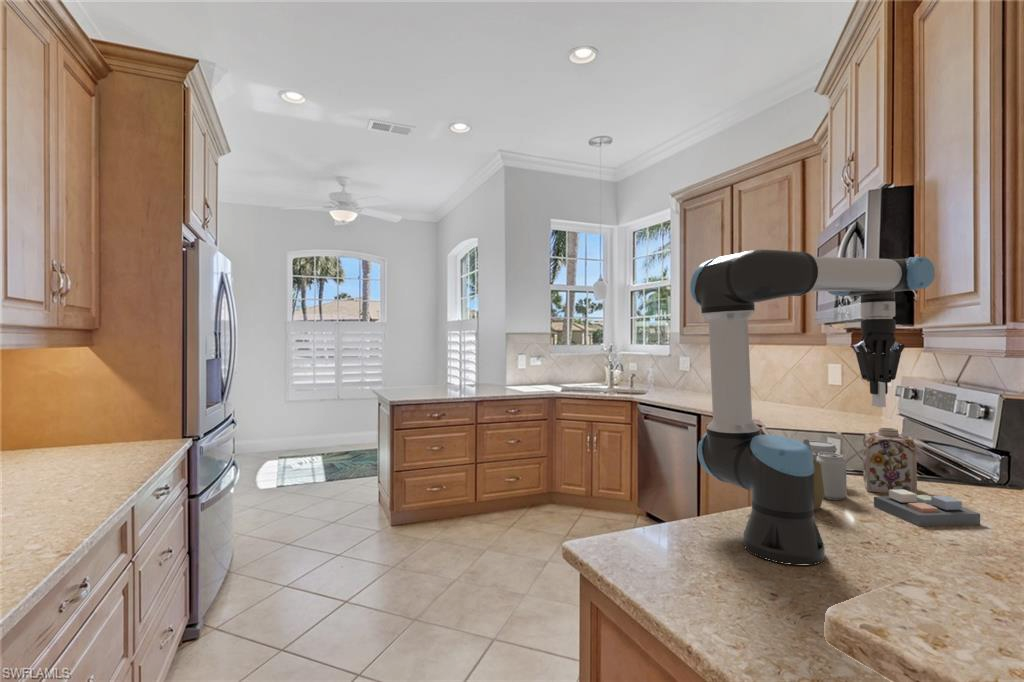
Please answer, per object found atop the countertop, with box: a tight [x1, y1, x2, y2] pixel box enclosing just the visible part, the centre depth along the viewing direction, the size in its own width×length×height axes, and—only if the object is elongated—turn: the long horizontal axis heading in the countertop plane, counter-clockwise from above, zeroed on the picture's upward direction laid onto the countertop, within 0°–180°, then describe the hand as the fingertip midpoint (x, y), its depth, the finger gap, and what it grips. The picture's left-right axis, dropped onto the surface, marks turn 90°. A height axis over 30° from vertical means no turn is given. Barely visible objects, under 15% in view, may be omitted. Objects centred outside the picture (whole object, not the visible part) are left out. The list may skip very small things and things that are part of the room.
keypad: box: [873, 494, 981, 527], centre depth 124 cm, size 15×14×3 cm
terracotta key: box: [908, 503, 938, 513], centre depth 121 cm, size 4×4×3 cm
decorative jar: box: [862, 427, 918, 495], centre depth 146 cm, size 12×12×18 cm
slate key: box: [930, 495, 963, 512], centre depth 122 cm, size 4×4×3 cm
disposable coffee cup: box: [809, 440, 838, 456], centre depth 154 cm, size 10×10×12 cm
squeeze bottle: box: [802, 438, 825, 511], centre depth 132 cm, size 8×8×18 cm
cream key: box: [888, 489, 918, 504], centre depth 127 cm, size 4×4×3 cm
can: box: [816, 452, 848, 501], centre depth 140 cm, size 8×8×12 cm
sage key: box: [917, 494, 932, 504], centre depth 128 cm, size 4×4×3 cm
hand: (878, 406), depth 132 cm, fingers closed
